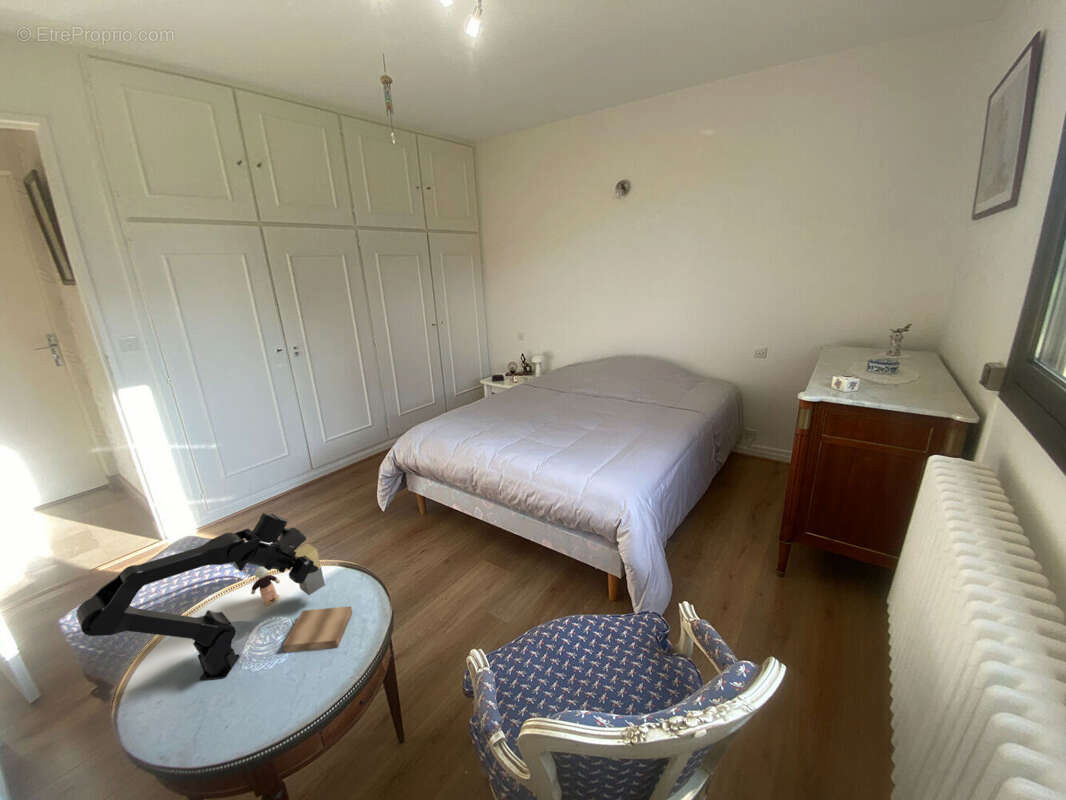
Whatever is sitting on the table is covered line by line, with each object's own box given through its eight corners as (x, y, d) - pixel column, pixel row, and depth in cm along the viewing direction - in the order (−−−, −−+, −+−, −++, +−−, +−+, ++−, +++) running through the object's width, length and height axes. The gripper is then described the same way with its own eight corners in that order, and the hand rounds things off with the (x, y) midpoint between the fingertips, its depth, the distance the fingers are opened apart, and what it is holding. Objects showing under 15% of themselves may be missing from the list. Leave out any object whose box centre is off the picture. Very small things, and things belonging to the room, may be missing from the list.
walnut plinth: (285, 652, 115) (283, 645, 114) (304, 617, 127) (302, 610, 126) (338, 647, 116) (336, 640, 115) (352, 612, 127) (350, 606, 127)
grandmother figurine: (279, 591, 137) (270, 558, 133) (285, 596, 135) (276, 563, 131) (253, 606, 132) (243, 573, 128) (259, 612, 129) (248, 577, 125)
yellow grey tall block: (308, 595, 126) (299, 558, 122) (300, 588, 129) (291, 552, 125) (325, 585, 130) (316, 549, 126) (316, 578, 133) (308, 543, 129)
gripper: (299, 537, 114) (344, 550, 126) (267, 516, 124) (311, 530, 136) (275, 579, 110) (324, 588, 122) (244, 554, 121) (291, 564, 132)
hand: (312, 566), depth 128 cm, fingers closed on yellow grey tall block, 5 cm apart
